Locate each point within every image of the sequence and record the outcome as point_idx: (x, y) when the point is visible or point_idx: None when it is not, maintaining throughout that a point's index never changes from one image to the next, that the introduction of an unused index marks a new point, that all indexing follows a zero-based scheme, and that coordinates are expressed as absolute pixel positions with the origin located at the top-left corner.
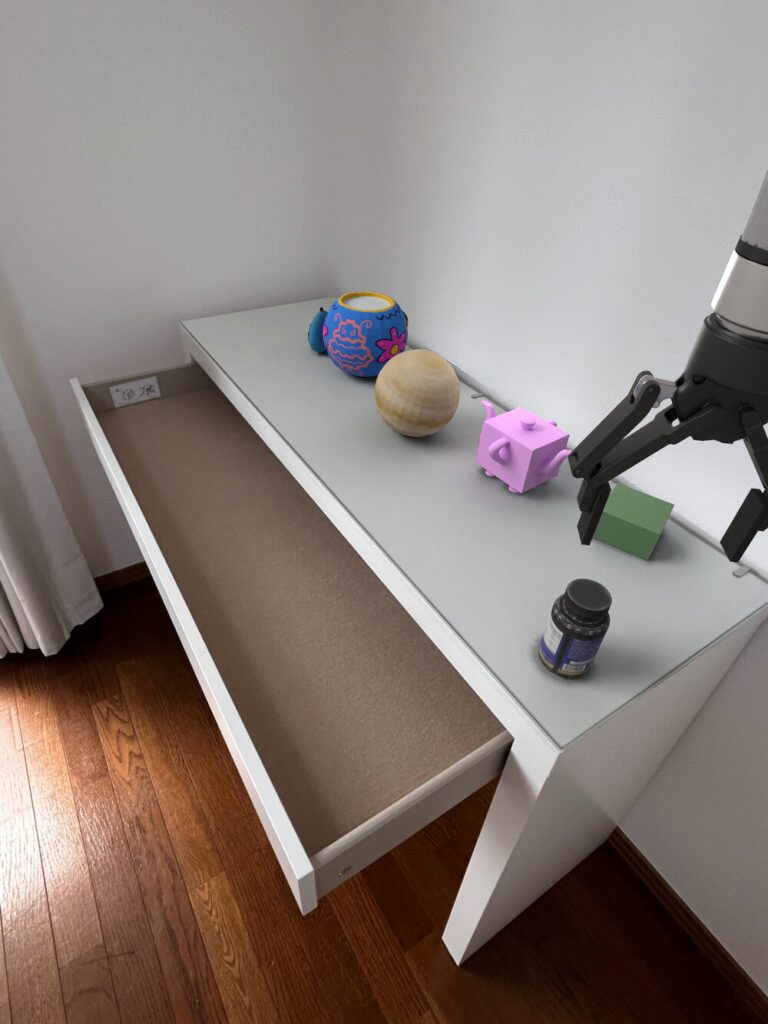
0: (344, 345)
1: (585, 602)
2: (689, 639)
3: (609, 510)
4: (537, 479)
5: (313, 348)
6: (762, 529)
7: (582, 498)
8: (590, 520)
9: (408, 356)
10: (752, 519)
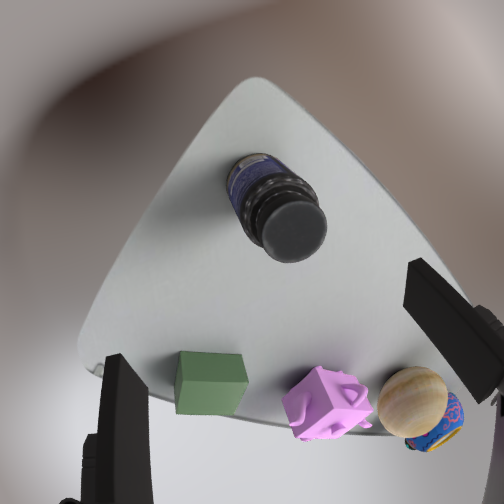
0: (452, 404)
1: (301, 214)
2: (122, 273)
3: (238, 386)
4: (304, 386)
5: (451, 393)
6: (91, 438)
7: (502, 324)
8: (460, 296)
9: (438, 421)
10: (120, 460)
